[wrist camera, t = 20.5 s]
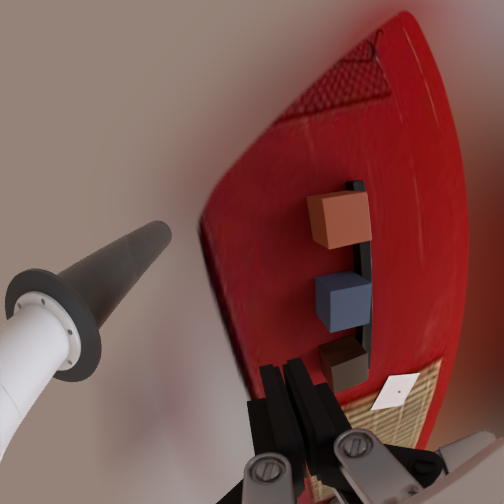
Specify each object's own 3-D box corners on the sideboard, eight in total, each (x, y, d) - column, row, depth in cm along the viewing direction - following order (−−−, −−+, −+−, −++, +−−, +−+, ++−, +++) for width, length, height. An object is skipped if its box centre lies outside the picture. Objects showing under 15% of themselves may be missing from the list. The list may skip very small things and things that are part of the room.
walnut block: (322, 372, 36) (334, 394, 31) (318, 346, 34) (330, 367, 30) (353, 360, 36) (368, 380, 31) (351, 333, 35) (367, 352, 30)
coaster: (370, 410, 39) (371, 412, 38) (389, 376, 38) (391, 378, 37) (401, 405, 40) (403, 407, 40) (420, 372, 39) (422, 375, 38)
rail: (355, 364, 36) (360, 372, 34) (345, 181, 30) (352, 181, 28) (364, 361, 36) (369, 368, 34) (356, 180, 30) (364, 180, 28)
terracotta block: (312, 240, 31) (328, 249, 26) (306, 196, 30) (321, 198, 25) (351, 232, 31) (371, 240, 26) (345, 190, 30) (366, 191, 25)
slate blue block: (315, 313, 33) (330, 333, 28) (314, 276, 32) (330, 291, 27) (351, 306, 34) (369, 323, 29) (352, 270, 32) (371, 283, 28)
